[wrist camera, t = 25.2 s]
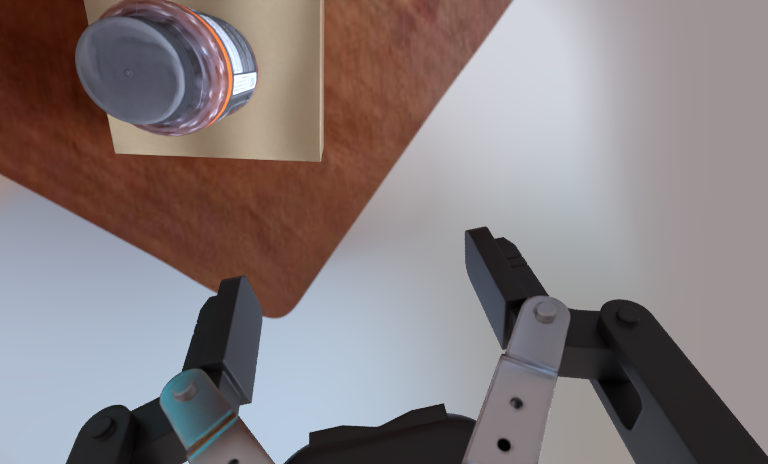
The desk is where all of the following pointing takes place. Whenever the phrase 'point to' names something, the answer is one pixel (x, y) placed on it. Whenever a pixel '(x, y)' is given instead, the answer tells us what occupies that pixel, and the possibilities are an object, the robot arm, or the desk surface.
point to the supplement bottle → (165, 66)
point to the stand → (273, 91)
